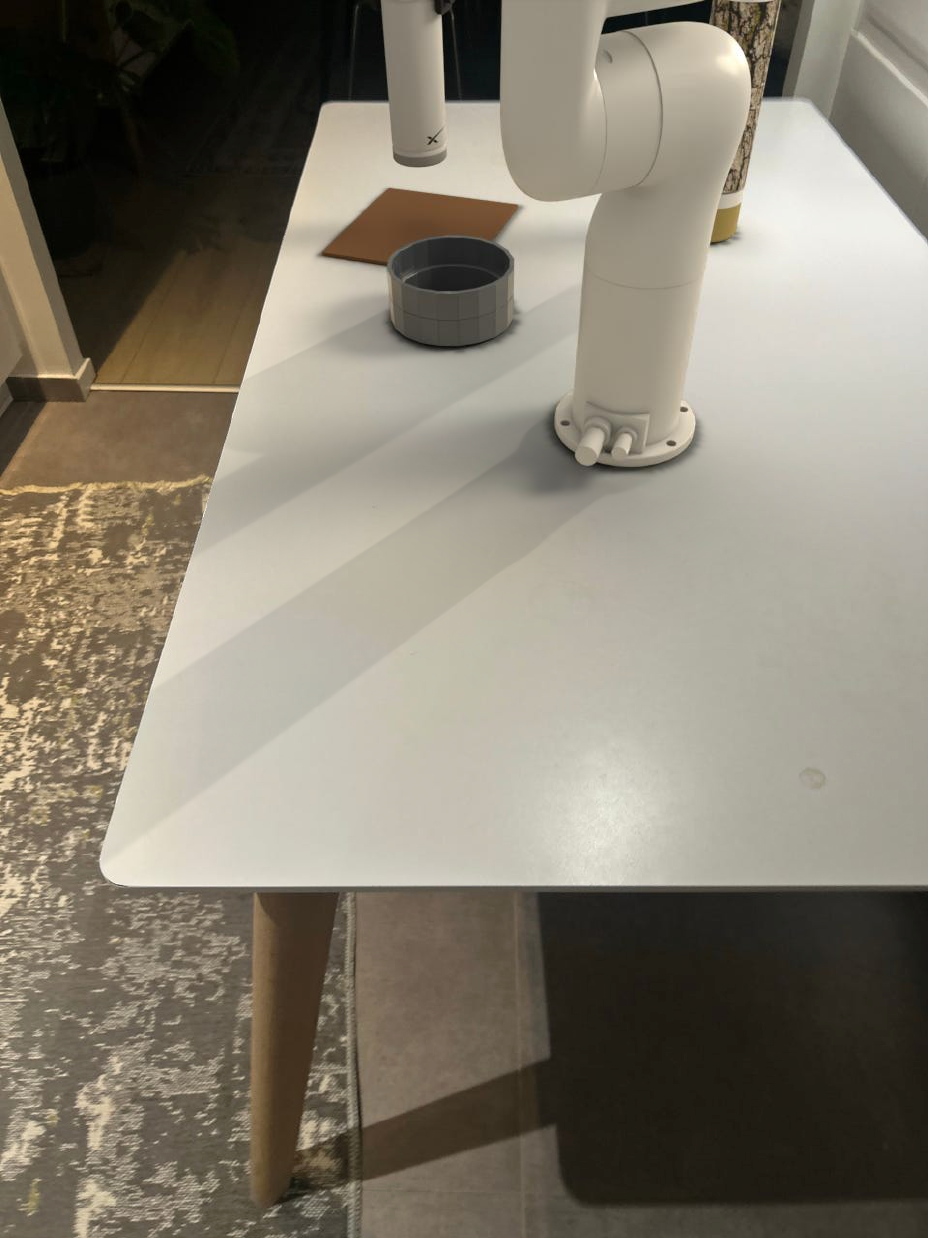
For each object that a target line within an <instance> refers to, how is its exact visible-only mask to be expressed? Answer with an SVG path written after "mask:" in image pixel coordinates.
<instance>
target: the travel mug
mask: <svg viewBox="0 0 928 1238" xmlns="http://www.w3.org/2000/svg"><path fill="white" fill-rule="evenodd" d="M380 9H381V20H382V31H383V32H382V33H383V44H384V45H383V46H384V57H385V71H386V79H387V80H386V82H387V83H386V84H387V95H388V109H389V120H390V121H389V123H390V133H391V143H392V144H391V145H392V159H393V160H394V162H396V164H398V165H400V166H403V167H407V168H429V167H433V166H436V165H438V164H441V163H442V162H443V161H445V160H446V159H447V156H448V149H447V148H448V147H447V124H446V123H447V122H446V121H447V120H446V98H445V72H444V70H445V69H444V51H443V50H444V47H443V46H444V45H443V43H444V42H443V21H442V20H443V19H442V18H443V17H442V15H438V14H437V13H436V12H435V0H381V8H380Z"/></svg>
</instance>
